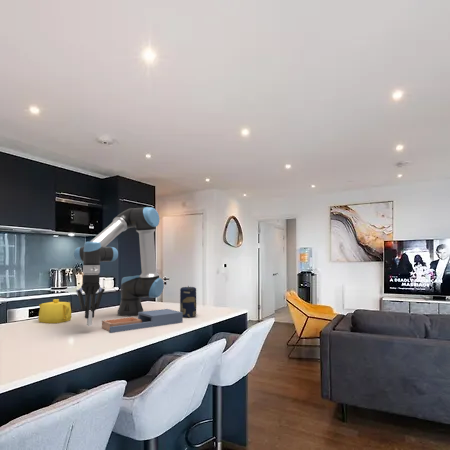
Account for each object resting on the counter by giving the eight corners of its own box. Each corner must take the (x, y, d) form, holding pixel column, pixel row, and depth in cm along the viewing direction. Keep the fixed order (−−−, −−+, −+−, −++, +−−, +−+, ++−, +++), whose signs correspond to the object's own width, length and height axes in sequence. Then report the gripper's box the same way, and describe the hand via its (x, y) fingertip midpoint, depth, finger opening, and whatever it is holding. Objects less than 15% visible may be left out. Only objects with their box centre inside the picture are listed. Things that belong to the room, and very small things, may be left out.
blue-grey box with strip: (97, 327, 173) (98, 316, 173) (166, 318, 198) (167, 308, 198) (110, 332, 160) (111, 321, 161) (182, 322, 186) (182, 312, 186)
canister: (197, 315, 208) (197, 285, 210) (194, 318, 199) (194, 286, 200) (181, 315, 209) (182, 284, 211) (178, 317, 200) (178, 286, 201)
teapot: (30, 322, 187) (31, 299, 188) (48, 318, 199) (49, 297, 200) (59, 324, 181) (59, 301, 182) (76, 320, 192) (77, 298, 193)
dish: (101, 327, 171) (102, 320, 172) (132, 323, 182) (132, 317, 182) (110, 331, 163) (110, 324, 163) (141, 327, 173) (142, 320, 174)
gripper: (79, 274, 157) (77, 328, 155) (107, 274, 166) (105, 324, 163) (74, 274, 163) (72, 325, 161) (101, 273, 171) (100, 322, 169)
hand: (89, 325), depth 162 cm, fingers closed
